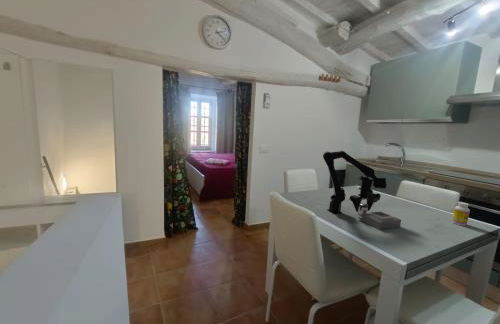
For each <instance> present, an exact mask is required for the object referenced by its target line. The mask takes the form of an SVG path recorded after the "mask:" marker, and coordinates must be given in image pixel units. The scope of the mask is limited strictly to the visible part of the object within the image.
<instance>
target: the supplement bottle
mask: <svg viewBox="0 0 500 324" xmlns="http://www.w3.org/2000/svg"><path fill="white" fill-rule="evenodd" d="M469 205H470V204H469V203H466V202H461V201H458V202H457V205H456V206H454V210H453V215H452V220H451V222H452V223H453V224H455V225H458V226H463V227H464V226H465V227H466V226H467V225H468V221H469V217H470V212H471V210H470V209H469V208H468V207H469Z"/></svg>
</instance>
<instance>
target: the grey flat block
mask: <svg viewBox="0 0 500 324" xmlns="http://www.w3.org/2000/svg"><path fill="white" fill-rule="evenodd" d="M361 221H362V222H363V223H365V224H367V225H369V226H371V227H373V228H375V229H377V230H386V229H392V228H393V229H394V228H399V227H401V222H402V219H400V218H397V217H396V216H393V215H392V214H388V213H386V212H383V211H371V212H369V213H367V214H362V216H361Z"/></svg>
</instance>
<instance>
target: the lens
mask: <svg viewBox="0 0 500 324" xmlns="http://www.w3.org/2000/svg"><path fill="white" fill-rule="evenodd" d="M368 212H369V211H368V204H367V203H364V202H361V204H360V205H359V210H358V212H357V216H360V217H362V214H368Z"/></svg>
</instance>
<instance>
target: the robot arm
mask: <svg viewBox="0 0 500 324" xmlns="http://www.w3.org/2000/svg"><path fill="white" fill-rule="evenodd" d="M322 158H323V160H324V163H325V164H326V166H327V168H328V172H329V175H330V178H331V182H332V186H333V194H332V195H331V196H330V200H331V201H330V202H329V208H328V209H326V210H327V211H328V212H330V213H332V214H342V213H343V211H341V210H342V203H343V202H344V201H345V200H346V197H347V194H346V193H345V188H344V187H341V185H340V181H339V177H338V174H337V171H336V167H335V160H339V159H341V158H342V159H343V160H345V161H346V162H348V163H350V164H351V165H352V166H354V167H355V168H356V169H357V170H358V171H359V172H361V174H362V175H360V176H359V177H358V179H359V180H361V183H360V187H359V188H358V190H360V191H359V193H358V194H357V195H354V194H352V195H349V200H350V201H351V203H352V204H353V206H354V209H355V212H356V213H358V210H359V205H360V204H361V203H362V200H363V201H364V200H366V204H368V211H367V212H369V211H370V210H371V209H372V207H373V205H374V204H375V203H377V202H379V201H380V200H381V196H382V195H381V194H380V192H379V193H374V190H373V189H372V187H373V188H374V189H382V190H385V189H386V188H387V181H386V179H387V178H386V177H383V176H382V177H379V176H378V177H377V175H376V174H375V169H373V168H372V167H371V166H368V165H366V164H364V163H361V162H360V161H359V160H357V159H355V158H354V157H352V156H351V155H349V154H348V153H347V152H345V151H344V150H338V151H332V152H331V151H325V152H323V154H322ZM363 175H364V176H363Z"/></svg>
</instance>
